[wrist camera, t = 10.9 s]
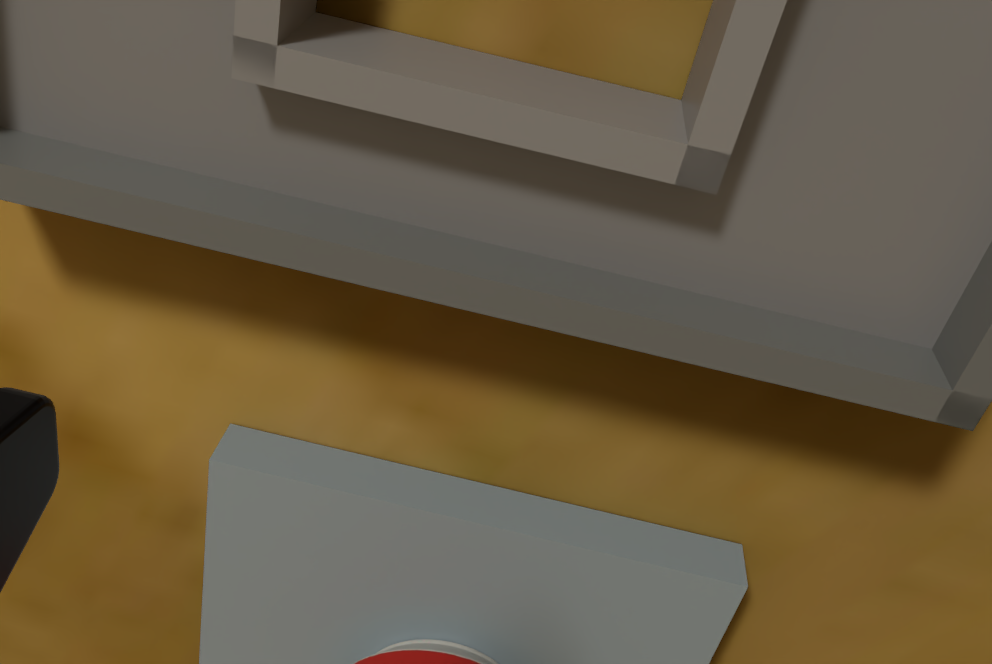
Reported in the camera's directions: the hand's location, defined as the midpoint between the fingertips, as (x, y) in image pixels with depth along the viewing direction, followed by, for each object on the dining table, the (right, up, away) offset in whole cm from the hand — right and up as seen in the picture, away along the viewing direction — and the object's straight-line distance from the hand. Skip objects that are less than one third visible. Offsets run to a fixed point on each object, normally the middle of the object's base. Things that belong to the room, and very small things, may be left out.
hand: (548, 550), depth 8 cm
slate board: (-2, -8, +21) cm, 22 cm away
